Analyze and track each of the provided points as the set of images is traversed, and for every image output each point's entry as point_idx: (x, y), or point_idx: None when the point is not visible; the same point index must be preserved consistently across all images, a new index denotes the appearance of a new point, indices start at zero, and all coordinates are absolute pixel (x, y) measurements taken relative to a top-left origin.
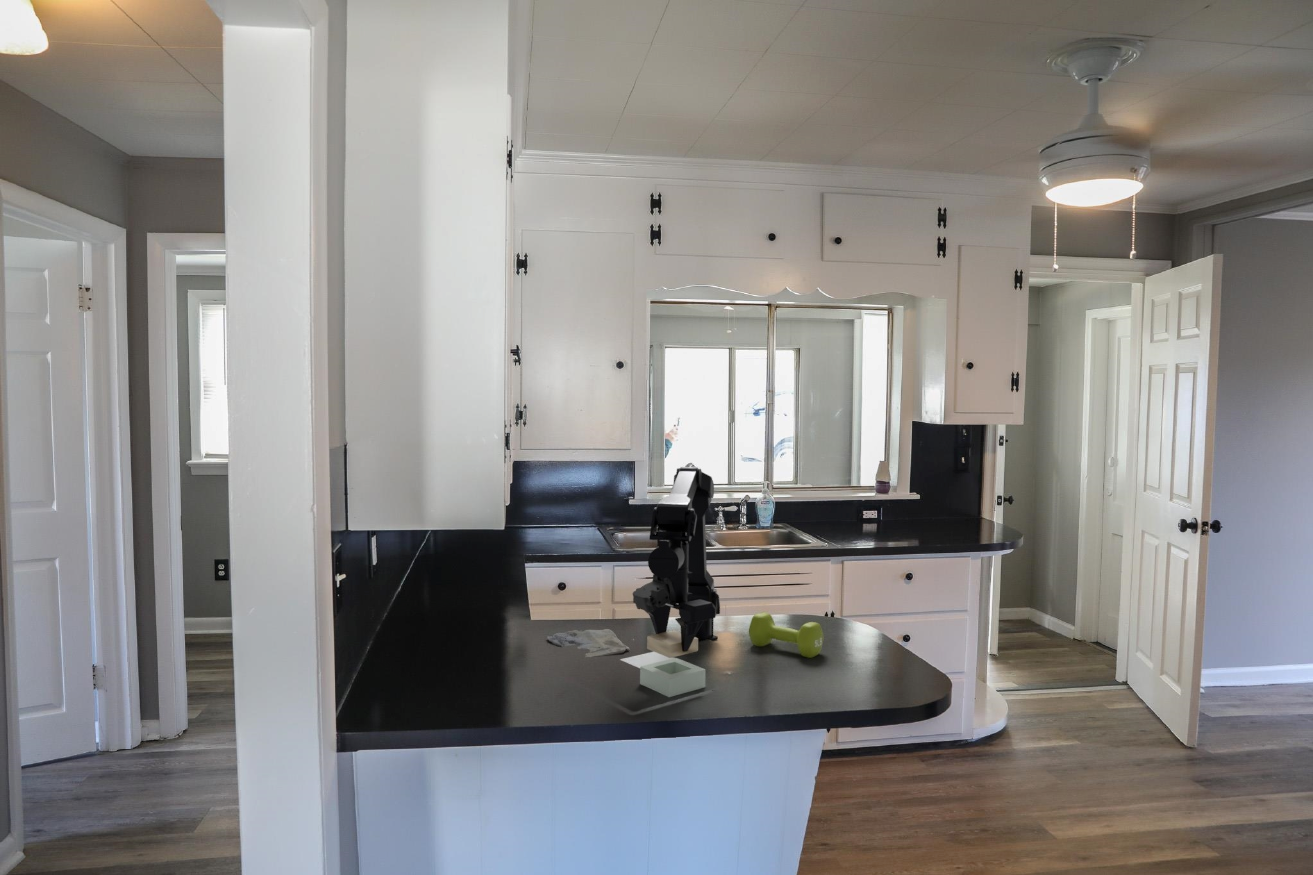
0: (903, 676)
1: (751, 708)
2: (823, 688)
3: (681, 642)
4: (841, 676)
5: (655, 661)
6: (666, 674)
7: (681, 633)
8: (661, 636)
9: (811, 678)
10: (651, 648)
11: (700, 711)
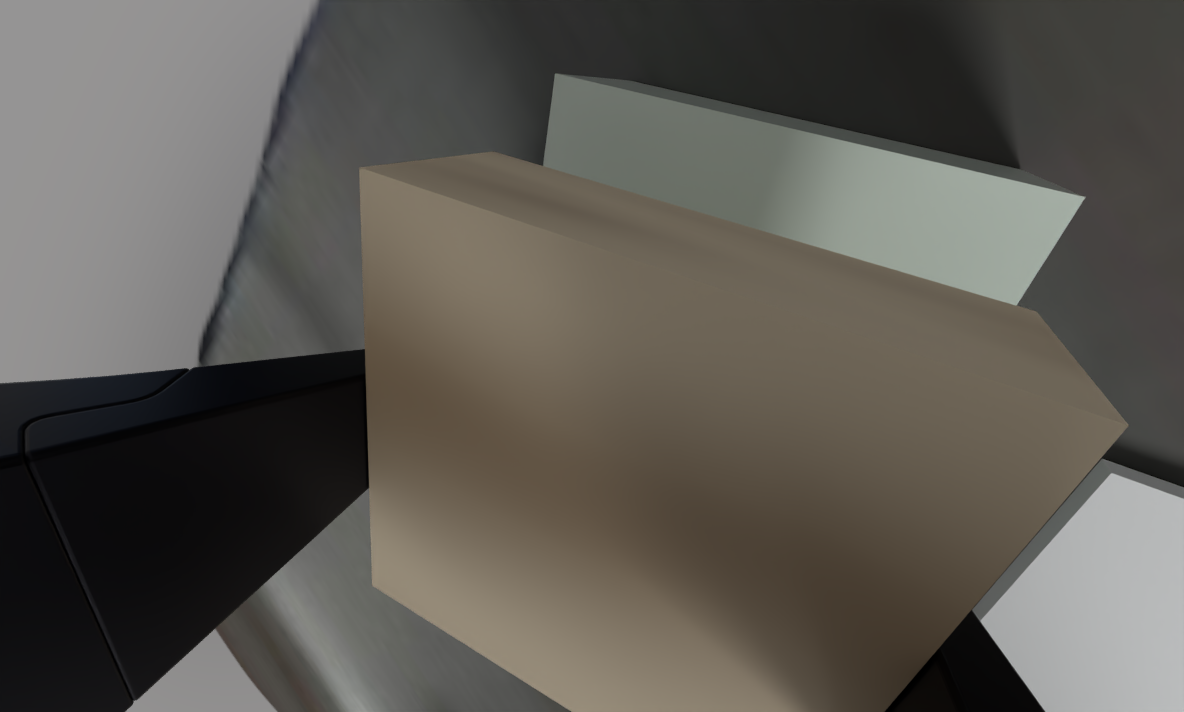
0: (289, 684)
1: (311, 271)
2: (323, 559)
3: (357, 370)
4: (359, 661)
5: (1177, 703)
6: (647, 161)
7: (185, 404)
8: (765, 517)
9: (393, 630)
10: (904, 280)
11: (397, 65)
